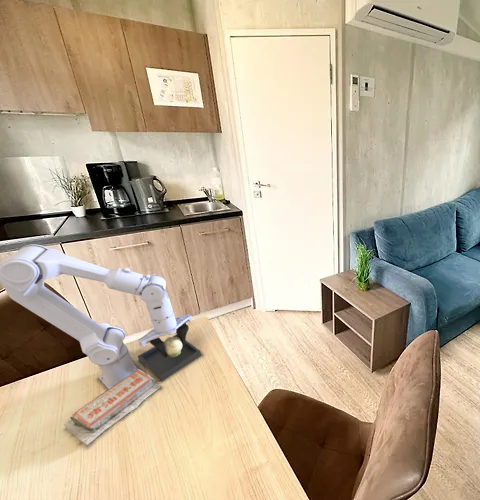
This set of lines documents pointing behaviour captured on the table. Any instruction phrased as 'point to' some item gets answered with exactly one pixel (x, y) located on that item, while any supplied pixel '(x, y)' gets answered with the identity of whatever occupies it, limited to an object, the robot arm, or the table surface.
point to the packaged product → (111, 406)
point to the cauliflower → (173, 346)
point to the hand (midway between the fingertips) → (173, 350)
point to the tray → (168, 360)
